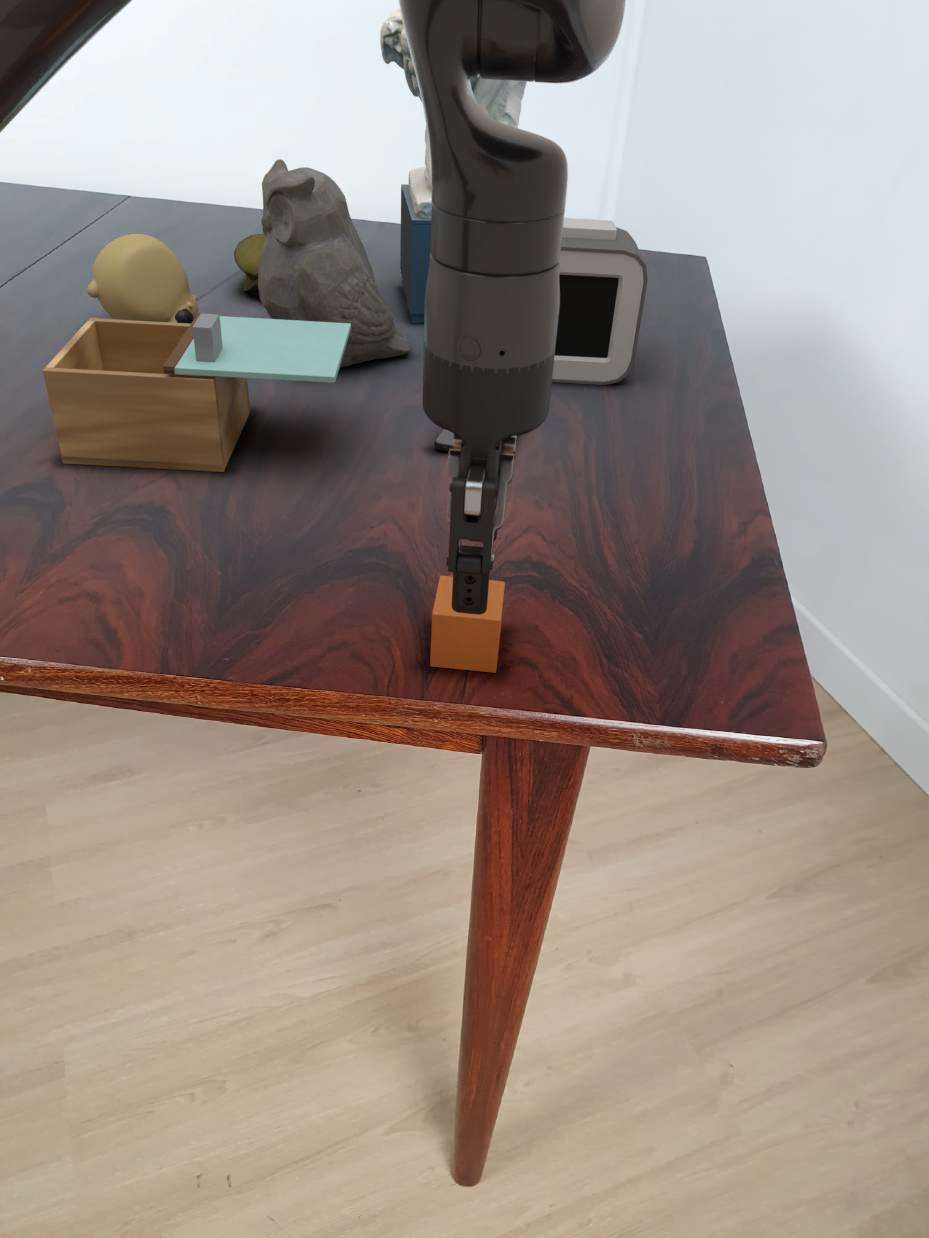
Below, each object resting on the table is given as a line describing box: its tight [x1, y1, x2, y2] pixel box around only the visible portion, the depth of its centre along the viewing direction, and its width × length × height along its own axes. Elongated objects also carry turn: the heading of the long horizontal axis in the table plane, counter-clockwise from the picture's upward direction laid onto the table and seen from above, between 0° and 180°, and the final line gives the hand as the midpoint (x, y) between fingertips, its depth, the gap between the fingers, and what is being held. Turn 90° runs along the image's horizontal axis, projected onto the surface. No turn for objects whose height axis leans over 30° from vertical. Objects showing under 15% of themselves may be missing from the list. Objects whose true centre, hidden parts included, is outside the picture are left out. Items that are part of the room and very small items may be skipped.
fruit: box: [233, 233, 266, 292], centre depth 125 cm, size 11×12×7 cm
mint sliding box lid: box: [163, 313, 351, 384], centre depth 86 cm, size 12×14×4 cm
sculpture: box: [379, 8, 528, 324], centre depth 116 cm, size 17×16×35 cm
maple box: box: [42, 317, 251, 473], centre depth 90 cm, size 12×14×9 cm
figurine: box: [258, 158, 410, 368], centre depth 104 cm, size 14×16×20 cm
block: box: [429, 575, 506, 674], centre depth 68 cm, size 5×5×5 cm
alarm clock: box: [552, 217, 649, 386], centre depth 107 cm, size 16×11×16 cm
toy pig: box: [86, 233, 199, 324], centre depth 111 cm, size 10×12×11 cm
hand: (475, 572), depth 65 cm, fingers open, 8 cm apart
